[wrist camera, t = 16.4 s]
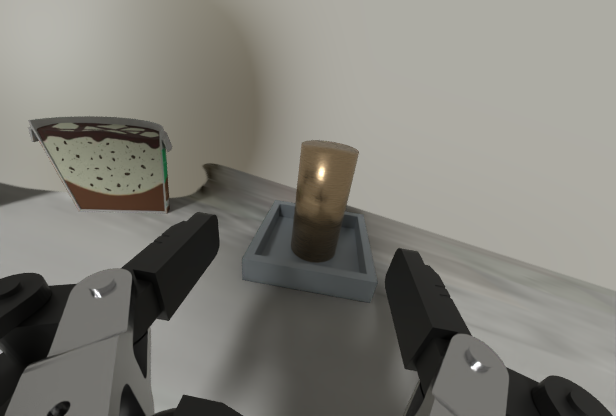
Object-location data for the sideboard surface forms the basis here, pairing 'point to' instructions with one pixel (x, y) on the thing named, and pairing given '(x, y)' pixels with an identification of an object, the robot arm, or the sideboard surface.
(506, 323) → the sideboard surface
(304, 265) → the tray
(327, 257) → the bronze can
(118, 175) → the food container
